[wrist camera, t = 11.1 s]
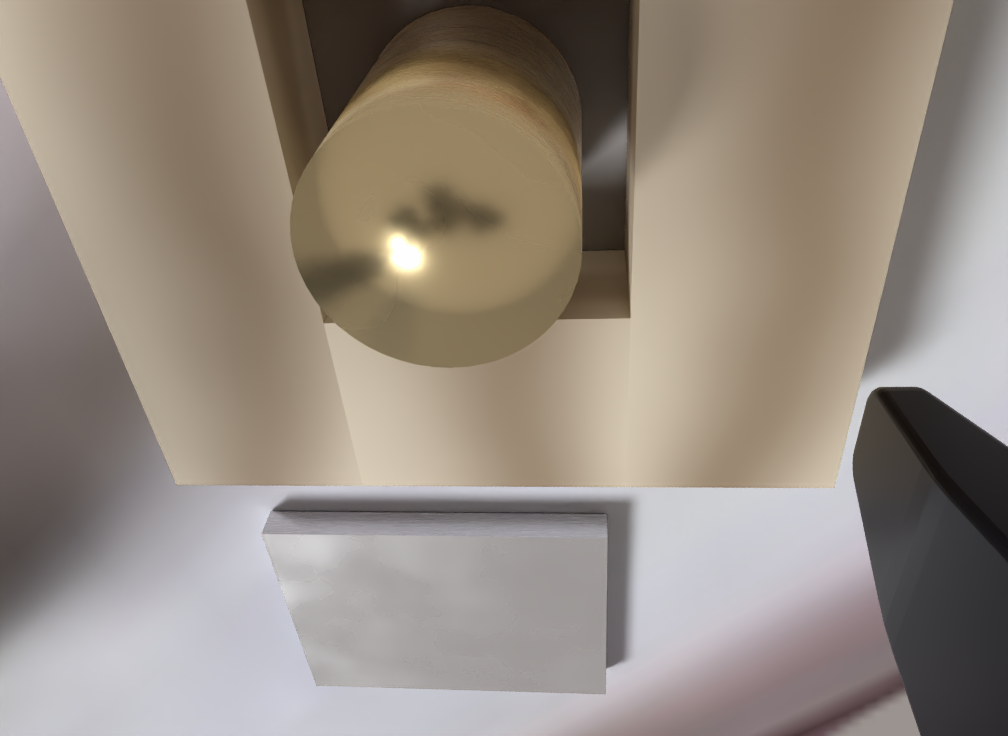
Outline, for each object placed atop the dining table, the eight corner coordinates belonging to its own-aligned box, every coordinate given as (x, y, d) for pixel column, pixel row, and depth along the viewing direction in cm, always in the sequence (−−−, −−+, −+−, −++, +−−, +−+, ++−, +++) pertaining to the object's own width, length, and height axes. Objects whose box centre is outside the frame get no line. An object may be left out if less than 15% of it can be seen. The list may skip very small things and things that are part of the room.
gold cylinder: (384, 220, 16) (322, 368, 12) (348, 11, 14) (258, 112, 10) (582, 215, 16) (583, 366, 12) (579, -2, 14) (580, 98, 10)
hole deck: (216, 412, 20) (172, 491, 18) (-59, -344, 12) (-204, -367, 9) (807, 408, 18) (837, 495, 16) (979, -454, 10) (1087, -511, 8)
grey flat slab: (322, 662, 26) (316, 685, 25) (270, 511, 22) (261, 534, 21) (605, 670, 25) (605, 694, 25) (606, 514, 21) (607, 537, 20)
